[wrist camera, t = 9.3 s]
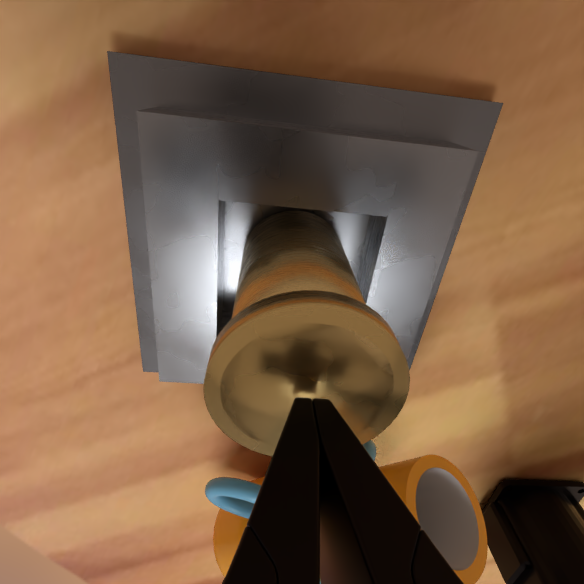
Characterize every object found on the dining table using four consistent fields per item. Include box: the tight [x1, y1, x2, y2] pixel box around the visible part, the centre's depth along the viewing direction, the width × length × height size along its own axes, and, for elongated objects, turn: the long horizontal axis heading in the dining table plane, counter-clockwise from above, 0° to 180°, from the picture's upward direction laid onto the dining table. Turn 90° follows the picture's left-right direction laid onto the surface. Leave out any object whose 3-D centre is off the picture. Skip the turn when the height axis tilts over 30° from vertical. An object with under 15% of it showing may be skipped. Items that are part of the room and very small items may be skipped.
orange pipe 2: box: [205, 440, 487, 584], centre depth 18 cm, size 12×10×15 cm
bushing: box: [204, 211, 410, 456], centre depth 13 cm, size 5×5×8 cm
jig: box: [107, 51, 503, 384], centre depth 16 cm, size 14×14×3 cm
